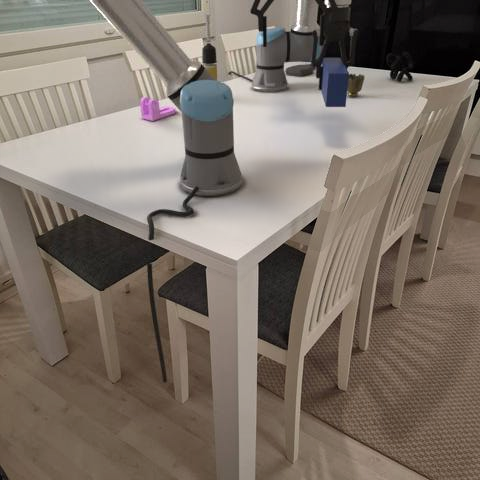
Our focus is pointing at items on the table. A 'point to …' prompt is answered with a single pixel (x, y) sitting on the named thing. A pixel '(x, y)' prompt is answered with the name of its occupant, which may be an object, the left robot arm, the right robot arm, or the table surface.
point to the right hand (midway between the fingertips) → (330, 88)
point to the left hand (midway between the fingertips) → (292, 45)
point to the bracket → (154, 109)
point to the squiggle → (399, 66)
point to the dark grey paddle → (300, 70)
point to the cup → (355, 84)
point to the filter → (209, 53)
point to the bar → (334, 82)
